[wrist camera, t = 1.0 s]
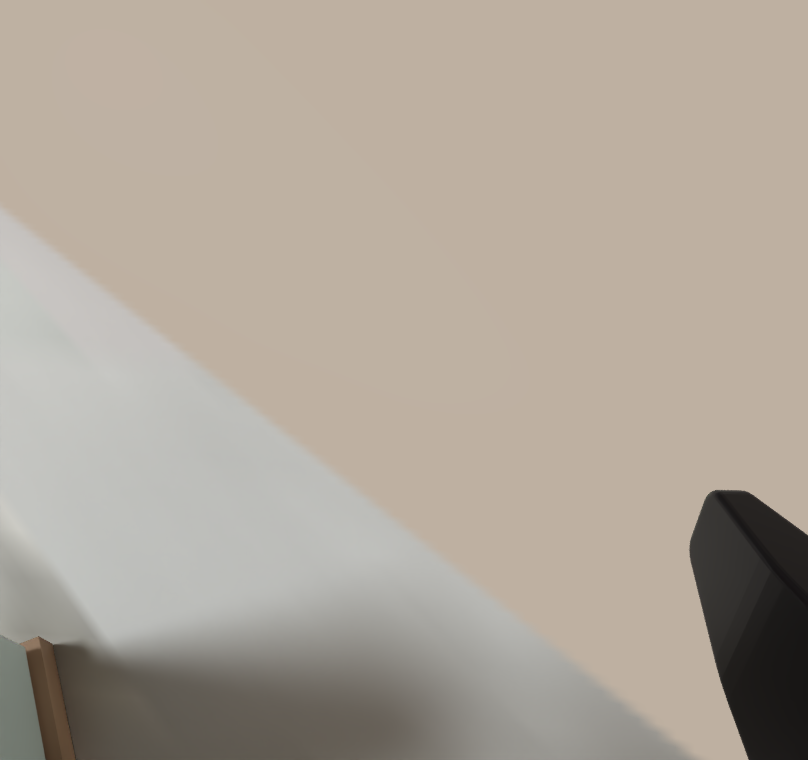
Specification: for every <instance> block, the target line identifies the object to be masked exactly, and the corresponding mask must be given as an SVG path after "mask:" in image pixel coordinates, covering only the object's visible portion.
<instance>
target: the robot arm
mask: <svg viewBox="0 0 808 760" xmlns="http://www.w3.org/2000/svg"><path fill="white" fill-rule="evenodd" d="M690 559H691V564H692V568H693V572H694V577H695V580H696V585H697V589H698V593H699V597H700V601H701V605H702V609H703V613H704V617H705V622H706V626H707V630H708V634H709V638H710V642H711V646H712V650H713V654H714V659H715V662H716V666H717V670H718V673H719V677H720V680H721V683H722V686H723V689H724V692H725V695H726V698H727V701H728V704H729V707H730V710H731V712H732V715H733V717H734V721H735V723H736V726H737V729H738V731H739V734H740V737H741V740H742V742H743V745H744V748H745V751H746V753H747V756H748V759H749V760H808V535H807V534H805V533H804V532H803V531H801V530H800V529H799V528H797V527H796V526H794V525H793V524H792V523H790V522H789V521H788V520H786V519H785V518H784V517H782V516H781V515H779V514H778V513H777V512H775V511H774V510H773V509H771V508H770V507H769V506H767V505H766V504H764V503H763V502H761V501H760V500H759V499H758V498H756V497H755V496H754V495H752V494H750V493H749V492H746V491H739V490H715V491H712V492H710V493H709V494H708V495H707V497H706V499H705V501H704V504H703V507H702V509H701V512H700V515H699V517H698V520H697V523H696V526H695V529H694V531H693V534H692V537H691V541H690Z"/></svg>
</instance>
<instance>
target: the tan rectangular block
mask: <svg viewBox="0 0 808 760" xmlns="http://www.w3.org/2000/svg"><path fill="white" fill-rule="evenodd" d="M20 645H22V646H24V647H25V650H26V656H27V661H28V667H29V672H30V677H31V683H32V688H33V694H34V699H35V705H36V710H37V716H38V721H39V726H40V732H41V737H42V743H43V748H44V754H45V759H46V760H76V759H75V754H74V749H73V744H72V739H71V734H70V729H69V724H68V719H67V714H66V709H65V704H64V699H63V695H62V690H61V685H60V680H59V675H58V670H57V665H56V660H55V655H54V650H53V645H52V643H50V642H48V641H46V640H44V639H42V638H41V637H39V636H38V637H36V638H33V639H31V640H28V641H26V642H23V643H21V644H20Z"/></svg>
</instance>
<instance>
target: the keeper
mask: <svg viewBox="0 0 808 760" xmlns="http://www.w3.org/2000/svg"><path fill="white" fill-rule="evenodd" d="M0 760H46V759H45V754H44V748H43V743H42V737H41V732H40V726H39V721H38V716H37V710H36V705H35V699H34V694H33V688H32V683H31V677H30V672H29V667H28V661H27V656H26V650H25V647H24V646H22V645H20V644H18V643H16V642H14V641H12V640H10V639H8V638H6V637H4V636H2V635H0Z"/></svg>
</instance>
